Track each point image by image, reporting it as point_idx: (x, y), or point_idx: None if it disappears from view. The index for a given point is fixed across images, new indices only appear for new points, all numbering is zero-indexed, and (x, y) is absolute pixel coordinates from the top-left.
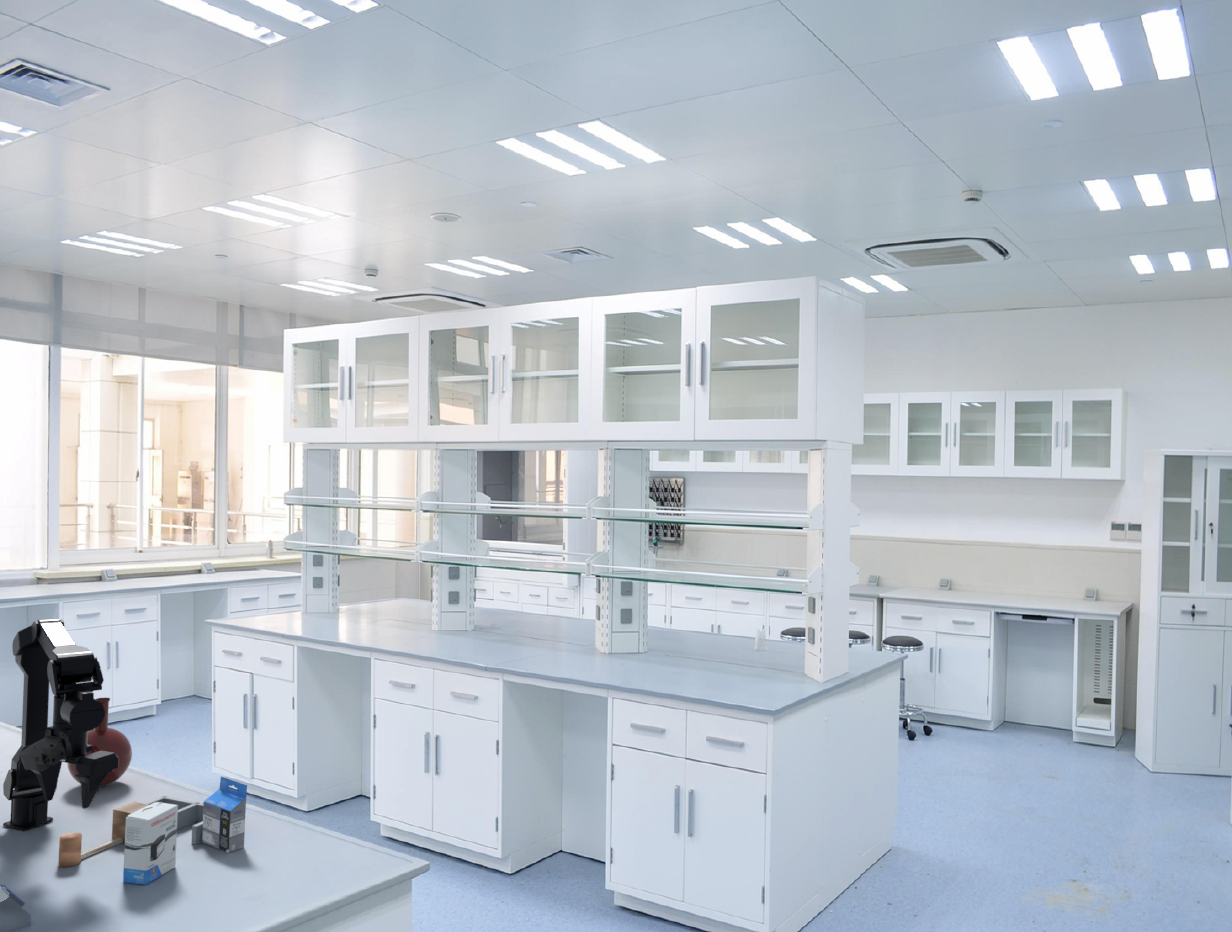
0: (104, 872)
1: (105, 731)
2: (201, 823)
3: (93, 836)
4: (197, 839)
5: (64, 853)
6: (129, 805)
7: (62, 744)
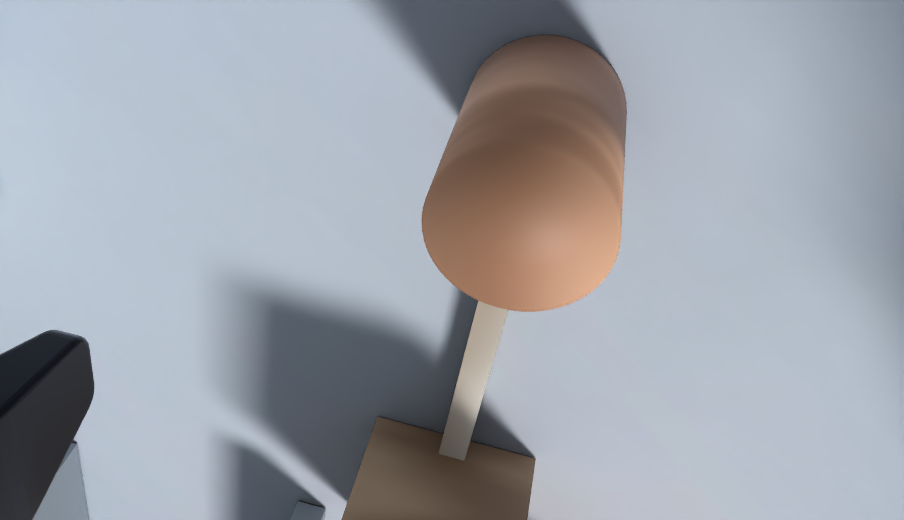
0: (164, 8)
1: None
2: None
3: (684, 488)
4: None
5: (523, 84)
6: None
7: None
